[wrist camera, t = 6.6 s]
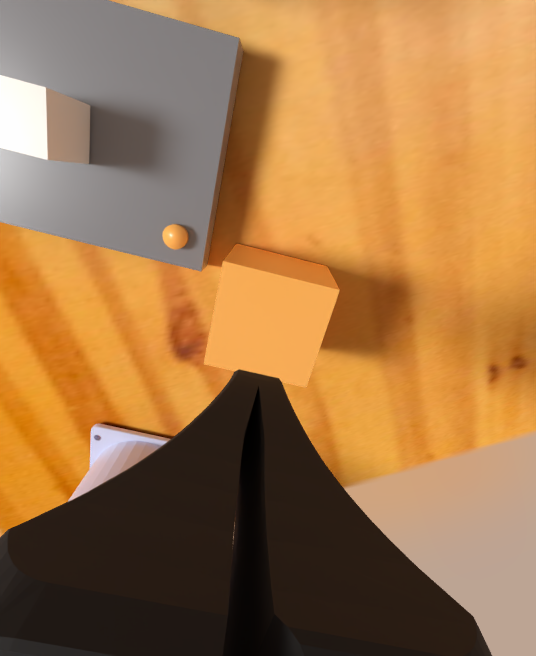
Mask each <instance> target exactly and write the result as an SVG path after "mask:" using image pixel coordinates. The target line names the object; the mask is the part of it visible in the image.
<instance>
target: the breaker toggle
mask: <svg viewBox="0 0 536 656" xmlns="http://www.w3.org/2000/svg"><path fill="white" fill-rule="evenodd" d="M0 148H3V149H7V150H11V151H15V152H19V153H22V154H26V155H30V156H34V157H38V158H42V159H46V160H52V161H62V162H72V163H82V164H89V149H90V105H88V104H86V103H83V102H81V101H78V100H76V99H73V98H71V97H68V96H66V95H63V94H61V93H59V92H56V91H54V90H51V89H49V88H46V87H43V86H39V85H35V84H32V83H28V82H24V81H21V80H17V79H13V78H9V77H6V76H2V75H0Z"/></svg>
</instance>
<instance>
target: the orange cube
mask: <svg viewBox="0 0 536 656" xmlns="http://www.w3.org/2000/svg"><path fill="white" fill-rule="evenodd" d="M339 291H340V289H339V287H338V286H337V284H336V282H335V280H334V278H333V276H332V274H331V272H330V271H329V269H328V267H327V266H325V265H321V264H317V263H313V262H309V261H305V260H301V259H297V258H293V257H289V256H285V255H281V254H277V253H273V252H269V251H265V250H261V249H257V248H253V247H249V246H245V245H241V244H236V245H235V246H234V248H233V249H232V250H231V251H230V253H229V254H228V255H227V256H226V258H225V259H224V260H223V263H222V269H221V274H220V279H219V285H218V290H217V295H216V301H215V306H214V311H213V317H212V322H211V327H210V333H209V338H208V343H207V349H206V354H205V359H204V364H205V365H210V366H214V367H219V368H223V369H227V370H232V371H237V370H239V369H240V370H244V371H249V372H253V373H258V374H262V375H267V376H271V377H276V378H279V379H280V381H281V382H284V383H288V384H292V385H297V386H301V387H305V388H306V387H307V384H308V382H309V379H310V376H311V373H312V370H313V367H314V364H315V361H316V358H317V355H318V352H319V350H320V347H321V344H322V341H323V338H324V335H325V332H326V329H327V326H328V323H329V320H330V317H331V315H332V312H333V309H334V306H335V303H336V300H337V297H338V294H339Z"/></svg>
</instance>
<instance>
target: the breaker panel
mask: <svg viewBox="0 0 536 656" xmlns="http://www.w3.org/2000/svg"><path fill="white" fill-rule="evenodd" d="M242 56H243V49H242V45H241V42H240V39H239V38H237V37H234V36H230V35H227V34H223V33H220V32H216V31H213V30H209V29H206V28H202V27H199V26H195V25H192V24H189V23H185V22H182V21H178V20H175V19H171V18H168V17H164V16H161V15H157V14H154V13H150V12H147V11H143V10H140V9H136V8H133V7H129V6H126V5H122V4H119V3H115V2H112V1H108V0H0V75H2V76H6V77H9V78H13V79H17V80H21V81H24V82H28V83H32V84H35V85H39V86H43V87H46V88H49V89H51V90H54V91H56V92H59V93H61V94H63V95H66V96H68V97H71V98H73V99H76V100H78V101H81V102H83V103H86V104H88V105H90V149H89V164H82V163H72V162H62V161H52V160H46V159H42V158H38V157H34V156H30V155H26V154H22V153H19V152H15V151H11V150H7V149H3V148H0V222H2V223H6V224H10V225H15V226H19V227H23V228H27V229H31V230H35V231H39V232H43V233H47V234H51V235H55V236H59V237H63V238H67V239H71V240H76V241H80V242H84V243H88V244H92V245H96V246H100V247H104V248H108V249H112V250H116V251H120V252H124V253H128V254H132V255H137V256H141V257H145V258H149V259H153V260H157V261H161V262H165V263H169V264H173V265H177V266H181V267H185V268H189V269H193V270H198V271H202V270H203V269H204V268H205V267H206V266H207V264H208V258H209V252H210V246H211V240H212V234H213V228H214V222H215V216H216V210H217V204H218V198H219V193H220V187H221V181H222V175H223V169H224V163H225V157H226V151H227V145H228V139H229V133H230V127H231V121H232V116H233V110H234V104H235V98H236V92H237V86H238V80H239V74H240V68H241V62H242Z"/></svg>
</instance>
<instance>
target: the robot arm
mask: <svg viewBox="0 0 536 656" xmlns="http://www.w3.org/2000/svg"><path fill="white" fill-rule="evenodd" d="M98 435H99V436H100V437H99V436H98ZM235 513H236V514H235ZM234 523H235V528H234ZM233 534H234V540H233ZM232 547H233V549H232ZM0 656H492V655H491V652H490V650H489V648H488V646H487V644H486V642H485V640H484V638H483V636H482V633H481V631H480V629H479V627H478V625H477V623H476V621H475V619H474V617H473V616H472V615H471V614H470V613H469V612H467V611H466V610H465V609H464V608H463V607H462V606H461V605H459V603H457V602H456V601H455V600H454V599H453V598H452V597H451V596H450V595H448V594H447V593H446V592H445V591H444V590H443V589H442V588H440V587H439V586H438V585H437V584H436V583H435V582H434V581H433V580H431V579H430V578H429V577H428V576H427V575H426V574H425V573H424V572H422V571H421V570H420V569H419V568H418V567H417V566H416V565H415V564H414V563H413V562H412V561H410V560H409V559H408V557H406V556H405V555H404V554H403V553H402V552H401V551H400V550H399V549H398V548H397V547H396V546H395V545H394V544H393V543H392V542H391V541H390V540H389V539H388V538H387V537H386V536H385V535H384V534H383V533H382V531H381V530H380V529H379V528H378V527H377V526H376V525H375V524H374V523H373V522H372V521H371V520H370V519H369V518H368V517H367V515H366V514H365V513H364V512H363V511H362V510H361V509H360V507H359V506H358V505H357V504H356V503H355V502H354V500H353V499H352V498H351V497H350V496H349V495H348V493H347V492H346V491H345V490H344V488H343V487H342V486H341V485H340V483H339V482H338V481H337V480H336V478H335V477H334V475H333V474H332V473H331V471H330V470H329V469H328V467H327V466H326V465H325V463H324V462H323V460H322V459H321V457H320V456H319V454H318V453H317V451H316V449H315V448H314V446H313V445H312V443H311V441H310V440H309V438H308V436H307V434H306V433H305V431H304V429H303V427H302V425H301V423H300V421H299V420H298V418H297V416H296V414H295V412H294V410H293V408H292V406H291V403H290V401H289V399H288V397H287V394H286V392H285V390H284V387H283V385H282V382H281V381H280V379H279V378H276V377H271V376H267V375H262V374H258V373H253V372H249V371H244V370H240V369H239V370H237V371H235V372H234V374H233V376H232V378H231V379H230V381H229V382H228V384H227V385H226V386H225V387H224V389H223V390H222V391H221V392H220V394H219V395H218V396H217V397H216V398H215V399H214V400H213V401H212V402H211V404H210V405H209V406H208V407H207V408H206V409H205V410H204V411H203V412H202V413H200V414H199V415H198V416H197V417H196V418H195V419H194V420H193V421H192V422H191V423H190V424H189V425H188V426H186V427H185V428H184V429H183V430H182V431H181V432H179V433H178V434H177V435H176V436H174V437H173V438H172V439H169V438H164V437H160V436H155V435H150V434H146V433H141V432H137V431H132V430H127V429H123V428H118V427H113V426H109V425H104V424H95V425H94V426H93V427H92V429H91V447H90V469H89V471H88V472H87V474H86V475H85V477H84V478H83V480H82V481H81V483H80V484H79V486H78V487H77V489H76V490H75V492H74V493H73V495H72V496H71V497H70V499H69V500H68V502H66V503H64V504H62V505H60V506H58V507H56V508H54V509H52V510H50V511H48V512H45V513H43V514H41V515H39V516H37V517H35V518H33V519H31V520H29V521H26V522H24V523H22V524H20V525H18V526H15V527H13V528H11V529H8V530H7V531H6V532H5V533H4V534H3V535H2V536H1V537H0Z"/></svg>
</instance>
